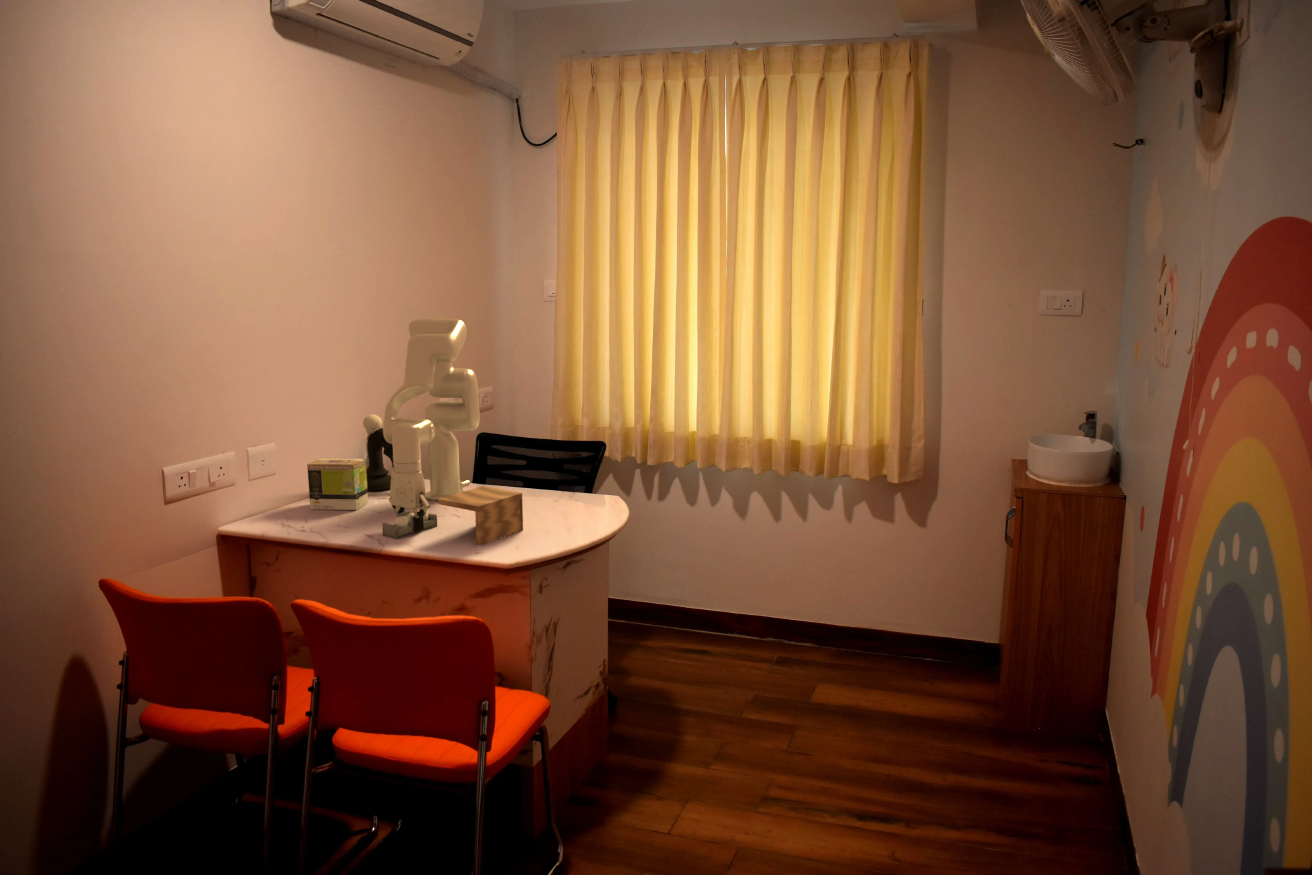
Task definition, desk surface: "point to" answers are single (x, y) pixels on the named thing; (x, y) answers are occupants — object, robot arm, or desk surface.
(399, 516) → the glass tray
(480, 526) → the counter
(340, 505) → the tea box
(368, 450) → the sculpture
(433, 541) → the desk surface
